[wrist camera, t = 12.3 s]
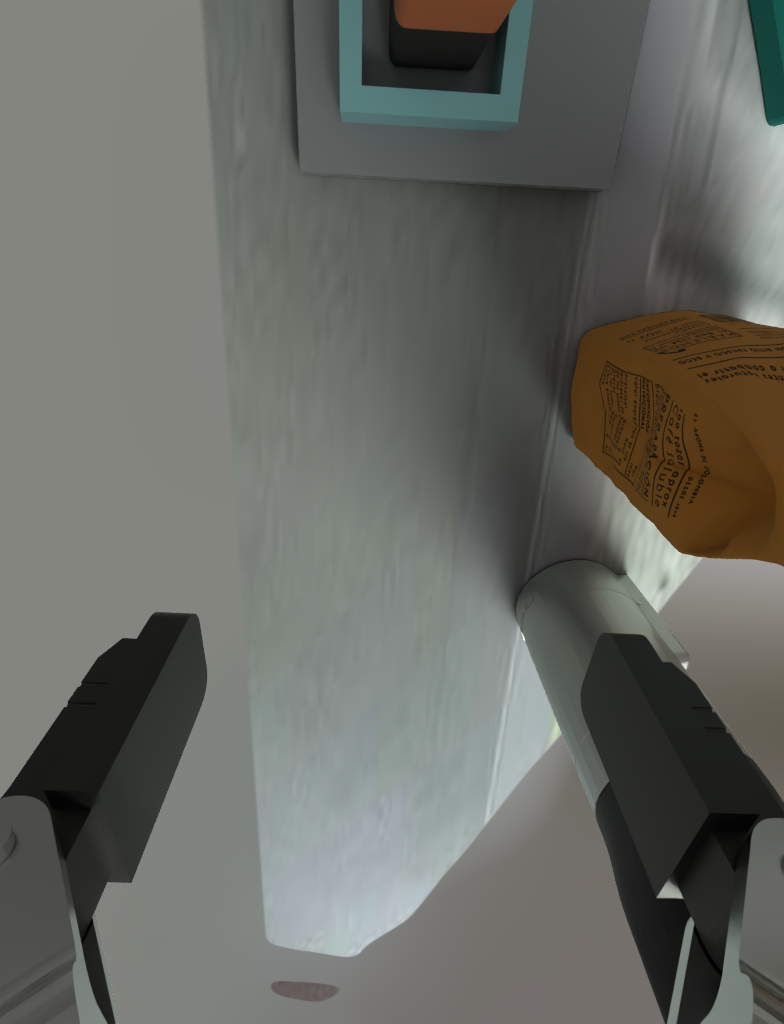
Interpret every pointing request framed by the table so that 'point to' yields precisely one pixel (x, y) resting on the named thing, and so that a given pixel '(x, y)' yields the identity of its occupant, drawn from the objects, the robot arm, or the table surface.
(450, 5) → the battery
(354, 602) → the table surface
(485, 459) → the table surface
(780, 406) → the coffee package
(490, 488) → the table surface
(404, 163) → the plate
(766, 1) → the digital multimeter
